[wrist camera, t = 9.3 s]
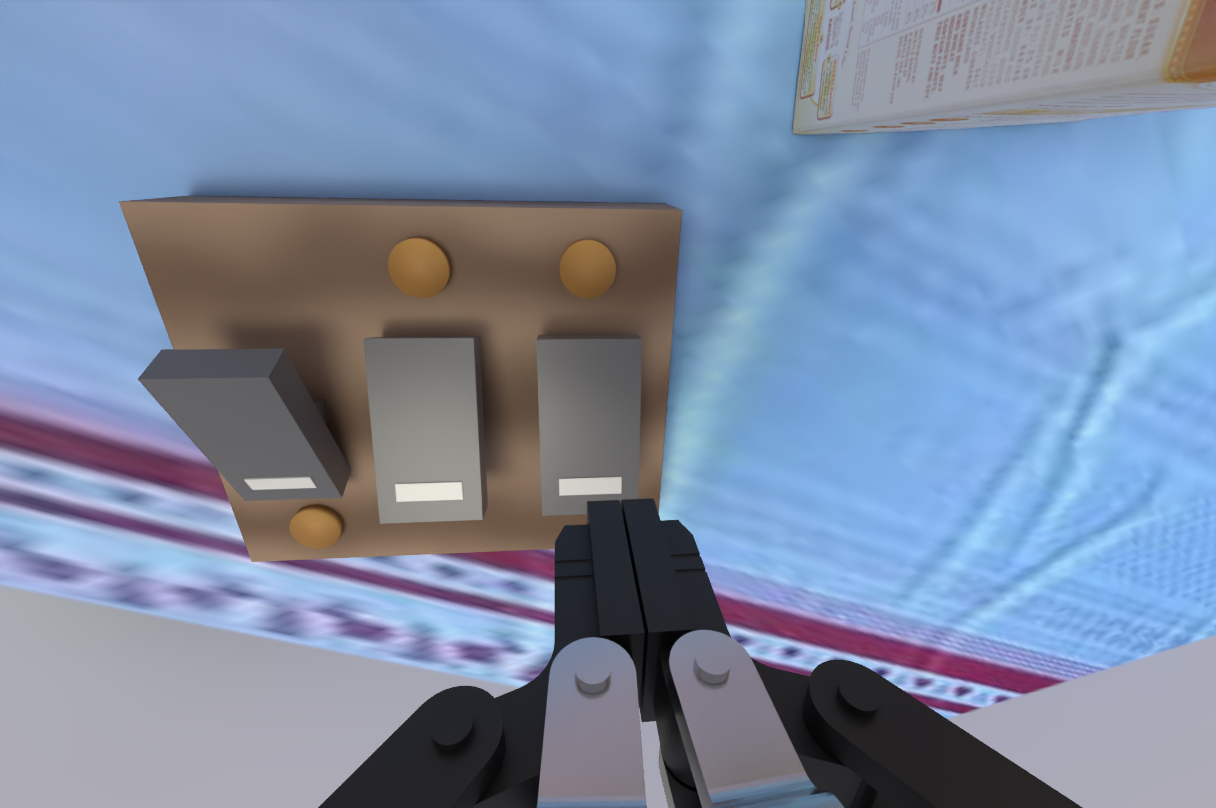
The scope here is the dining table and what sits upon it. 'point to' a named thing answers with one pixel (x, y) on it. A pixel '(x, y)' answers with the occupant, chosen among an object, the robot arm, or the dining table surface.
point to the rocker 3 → (588, 419)
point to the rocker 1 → (250, 421)
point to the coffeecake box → (999, 62)
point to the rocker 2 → (427, 427)
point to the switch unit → (414, 332)
